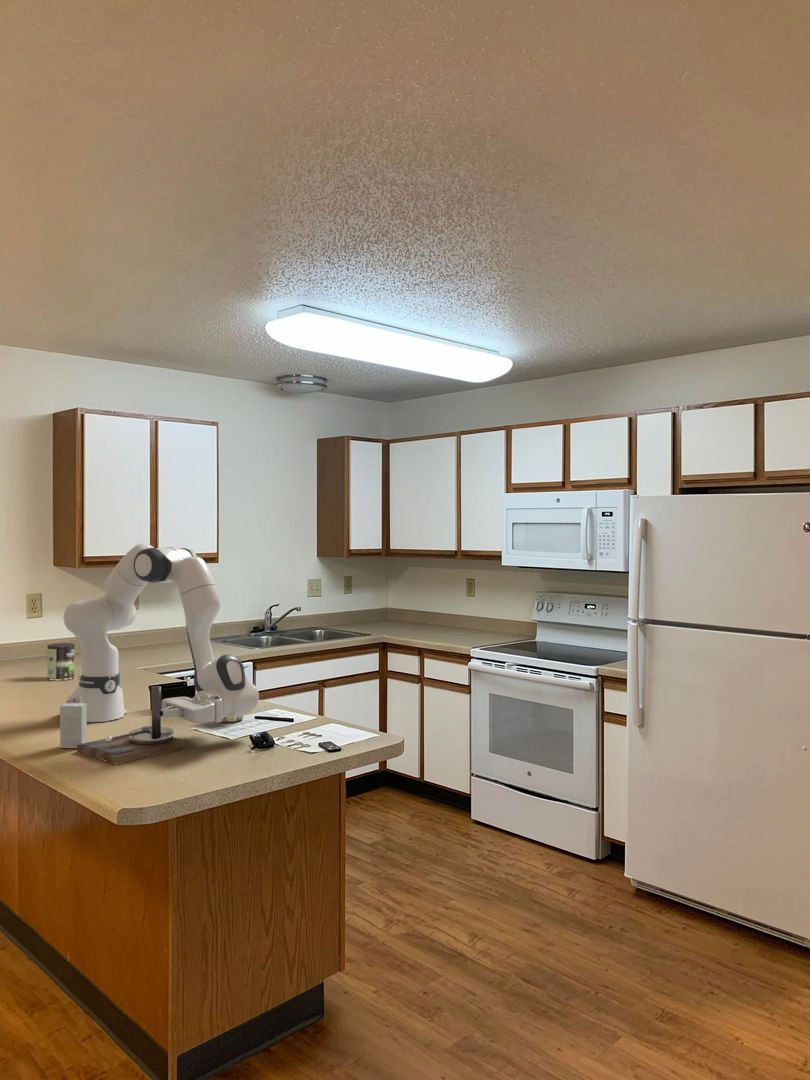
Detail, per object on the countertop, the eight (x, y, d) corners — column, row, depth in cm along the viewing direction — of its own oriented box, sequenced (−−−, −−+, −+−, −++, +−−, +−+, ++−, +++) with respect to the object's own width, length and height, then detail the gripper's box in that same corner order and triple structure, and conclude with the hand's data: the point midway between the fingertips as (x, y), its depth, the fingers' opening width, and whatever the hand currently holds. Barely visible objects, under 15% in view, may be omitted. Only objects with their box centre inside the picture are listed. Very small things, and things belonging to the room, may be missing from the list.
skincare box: (87, 745, 228) (87, 702, 228) (81, 749, 224) (81, 706, 224) (65, 745, 228) (65, 702, 228) (59, 749, 224) (59, 706, 224)
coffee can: (78, 676, 335) (78, 643, 335) (67, 681, 325) (68, 646, 325) (54, 676, 335) (54, 642, 335) (42, 681, 325) (42, 646, 325)
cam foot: (95, 746, 218) (95, 687, 218) (154, 731, 235) (154, 676, 235) (129, 754, 211) (129, 693, 211) (187, 738, 228) (187, 681, 227)
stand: (76, 751, 221) (76, 743, 221) (147, 736, 238) (147, 728, 238) (115, 764, 209) (115, 755, 209) (185, 747, 226) (186, 739, 226)
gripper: (189, 689, 237) (144, 696, 228) (224, 700, 222) (178, 708, 213) (189, 710, 237) (144, 718, 228) (224, 723, 222) (178, 731, 213)
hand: (161, 713), depth 220 cm, fingers closed, pressing on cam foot
